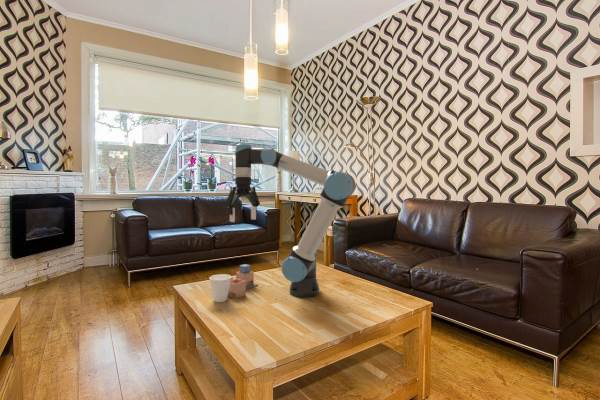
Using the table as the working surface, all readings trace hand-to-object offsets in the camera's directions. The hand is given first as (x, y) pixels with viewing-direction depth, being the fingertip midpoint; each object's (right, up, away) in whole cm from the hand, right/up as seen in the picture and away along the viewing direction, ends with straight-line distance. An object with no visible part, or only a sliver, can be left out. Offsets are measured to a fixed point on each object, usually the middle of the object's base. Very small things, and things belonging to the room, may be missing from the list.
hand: (243, 220), depth 154 cm
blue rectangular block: (-2, -33, +16) cm, 36 cm away
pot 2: (-4, -37, +1) cm, 37 cm away
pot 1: (-2, -35, +16) cm, 39 cm away
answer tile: (-2, -36, +16) cm, 39 cm away
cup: (-10, -37, -5) cm, 39 cm away
